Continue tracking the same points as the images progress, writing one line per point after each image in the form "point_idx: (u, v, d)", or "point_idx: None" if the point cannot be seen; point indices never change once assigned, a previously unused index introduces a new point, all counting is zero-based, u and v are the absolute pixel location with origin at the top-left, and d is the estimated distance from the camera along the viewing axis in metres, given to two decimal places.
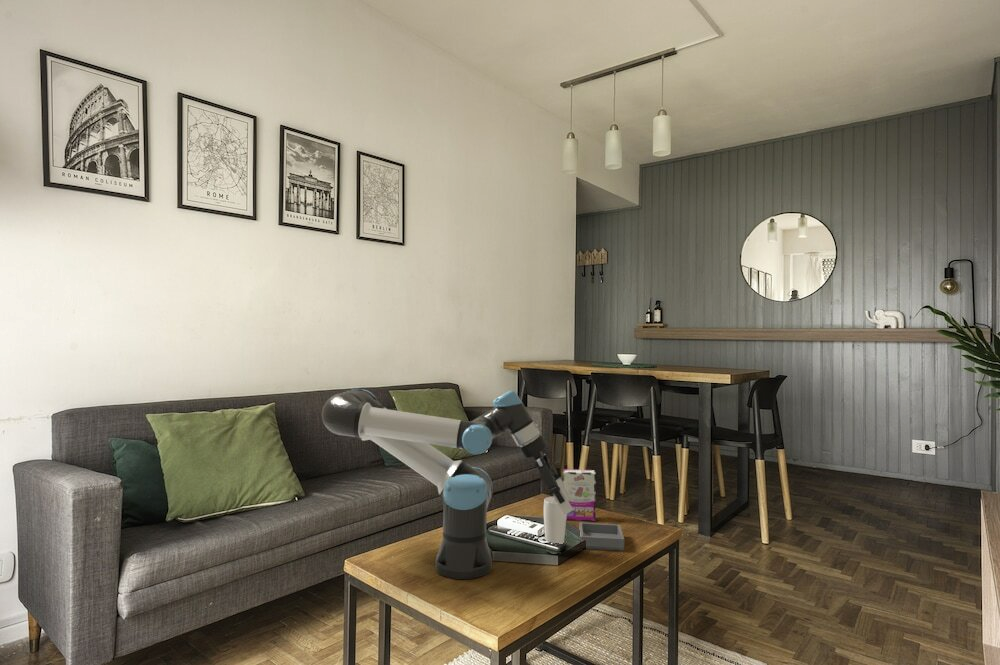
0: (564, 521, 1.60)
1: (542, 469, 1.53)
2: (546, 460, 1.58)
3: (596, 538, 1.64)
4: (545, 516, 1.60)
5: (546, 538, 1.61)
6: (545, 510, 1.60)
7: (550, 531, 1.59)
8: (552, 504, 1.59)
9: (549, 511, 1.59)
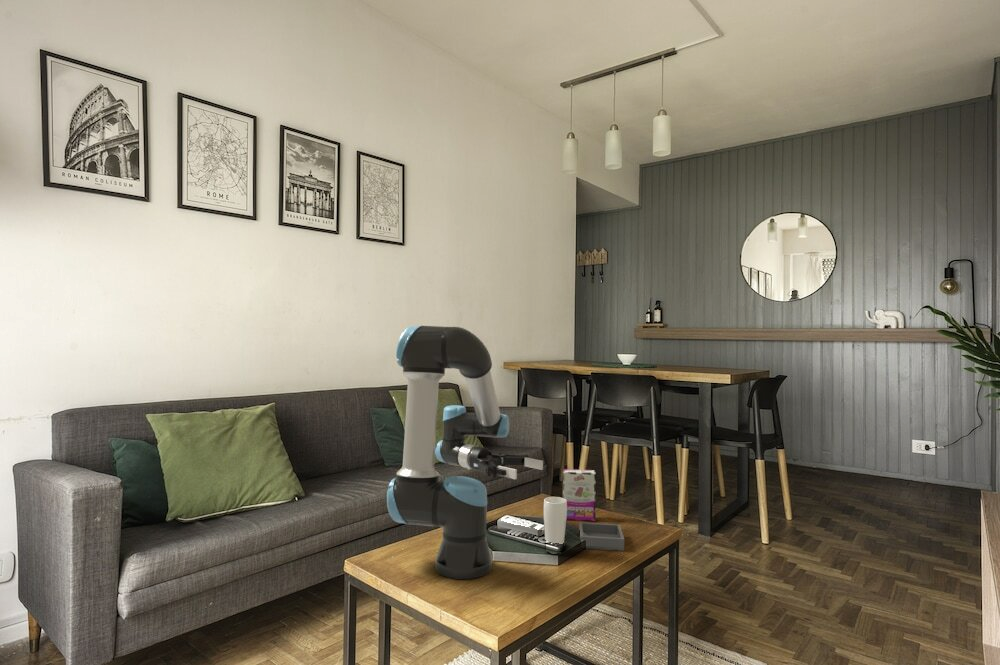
0: (564, 521, 1.60)
1: None
2: None
3: (596, 538, 1.64)
4: (545, 516, 1.60)
5: (546, 538, 1.61)
6: (545, 510, 1.60)
7: (550, 531, 1.59)
8: (552, 504, 1.59)
9: (549, 511, 1.59)
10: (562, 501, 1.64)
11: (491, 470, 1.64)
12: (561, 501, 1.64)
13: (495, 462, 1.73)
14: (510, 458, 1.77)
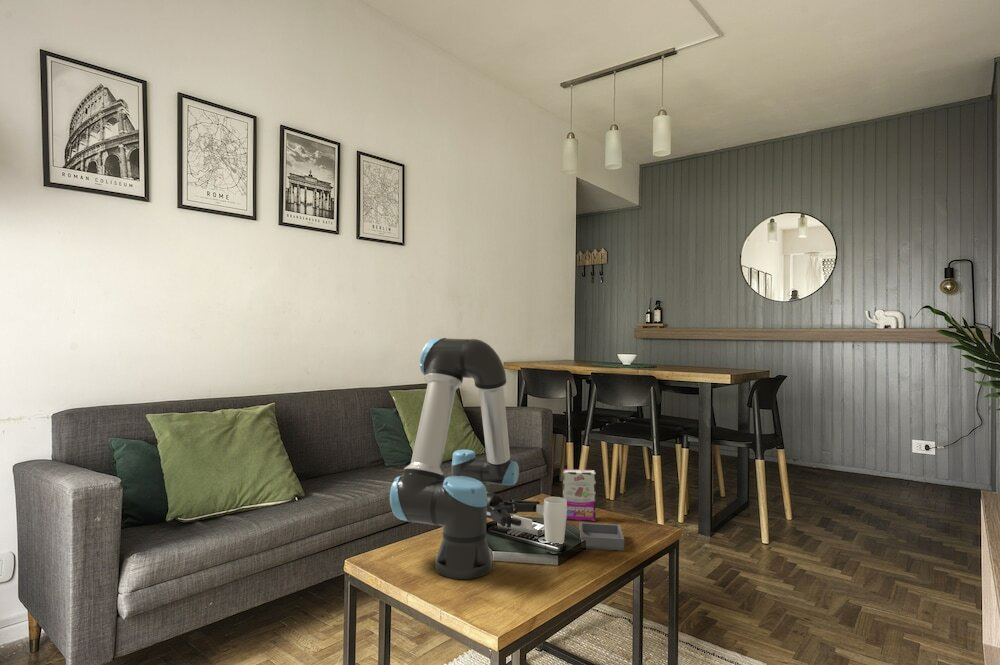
0: (564, 521, 1.60)
1: None
2: None
3: (596, 538, 1.64)
4: (545, 516, 1.60)
5: (546, 538, 1.61)
6: (545, 510, 1.60)
7: (550, 531, 1.59)
8: (552, 504, 1.59)
9: (549, 511, 1.59)
10: (562, 501, 1.64)
11: (506, 520, 1.62)
12: (561, 501, 1.64)
13: (507, 510, 1.71)
14: (522, 505, 1.75)
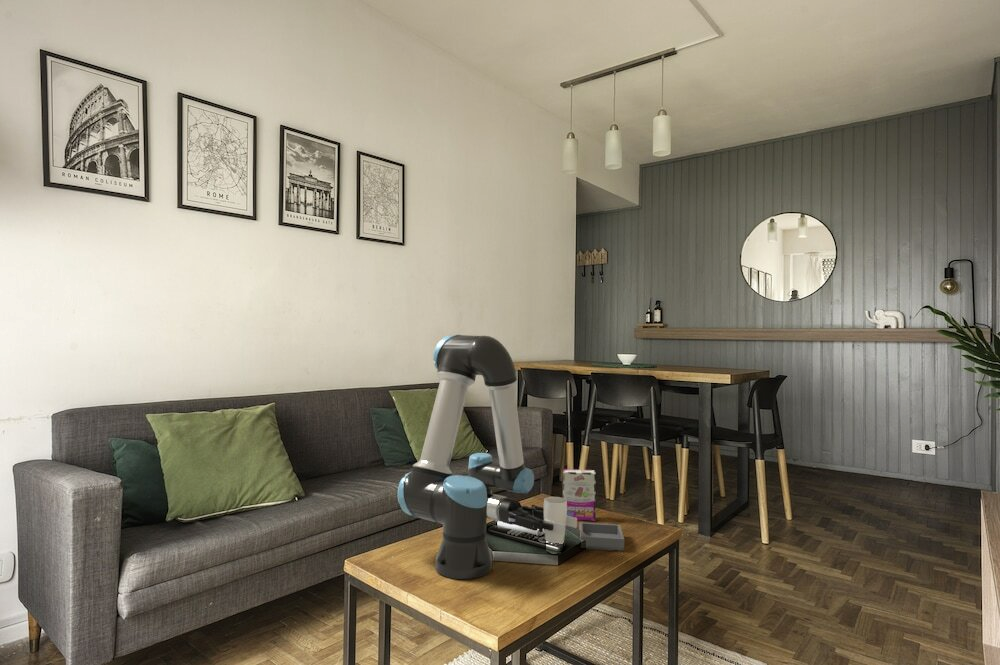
0: (564, 521, 1.60)
1: None
2: None
3: (596, 538, 1.64)
4: (545, 516, 1.60)
5: (546, 538, 1.61)
6: (545, 510, 1.60)
7: (550, 531, 1.59)
8: (552, 504, 1.59)
9: (549, 511, 1.59)
10: (562, 501, 1.64)
11: (538, 524, 1.58)
12: (561, 501, 1.64)
13: None
14: (540, 512, 1.68)
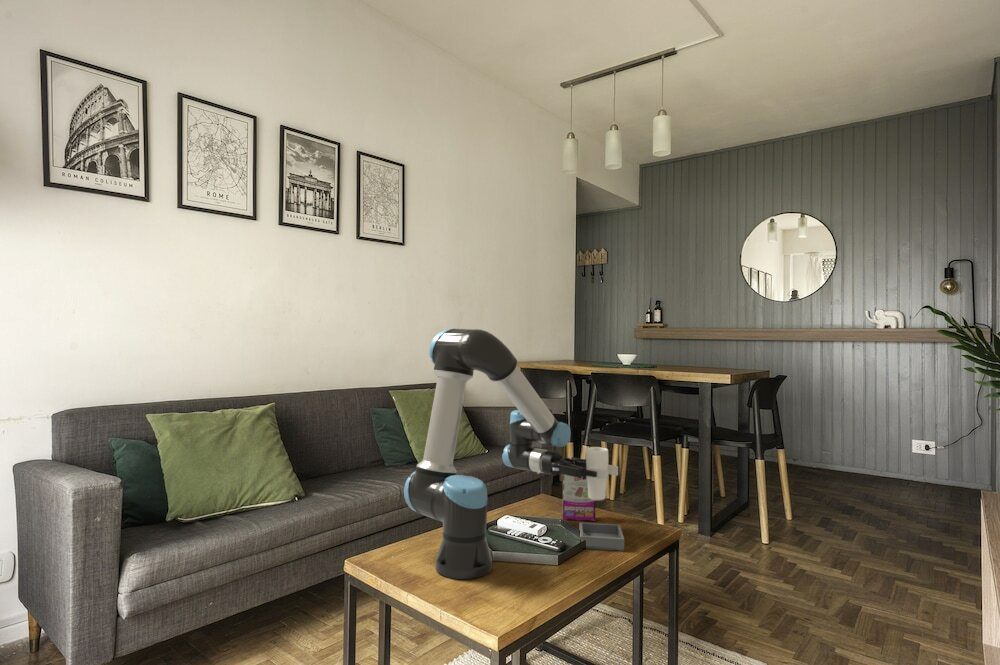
0: (606, 468, 1.68)
1: None
2: None
3: (596, 538, 1.64)
4: (588, 464, 1.69)
5: (589, 485, 1.69)
6: (588, 458, 1.68)
7: (593, 478, 1.68)
8: (595, 452, 1.67)
9: (592, 459, 1.67)
10: (603, 451, 1.72)
11: (582, 472, 1.66)
12: (602, 451, 1.72)
13: None
14: (582, 463, 1.76)
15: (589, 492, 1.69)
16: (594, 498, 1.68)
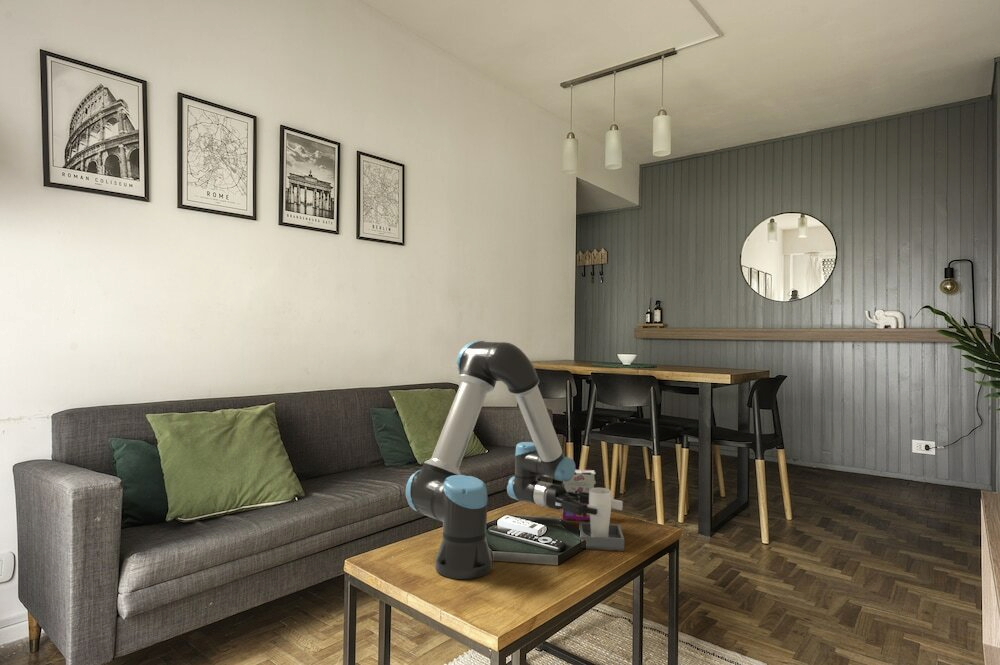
0: (609, 510, 1.68)
1: None
2: None
3: (596, 538, 1.64)
4: None
5: (592, 527, 1.69)
6: (591, 500, 1.68)
7: (595, 520, 1.67)
8: (598, 494, 1.67)
9: (595, 501, 1.67)
10: (606, 491, 1.72)
11: (582, 509, 1.66)
12: (605, 491, 1.72)
13: None
14: (586, 497, 1.77)
15: (592, 534, 1.69)
16: None
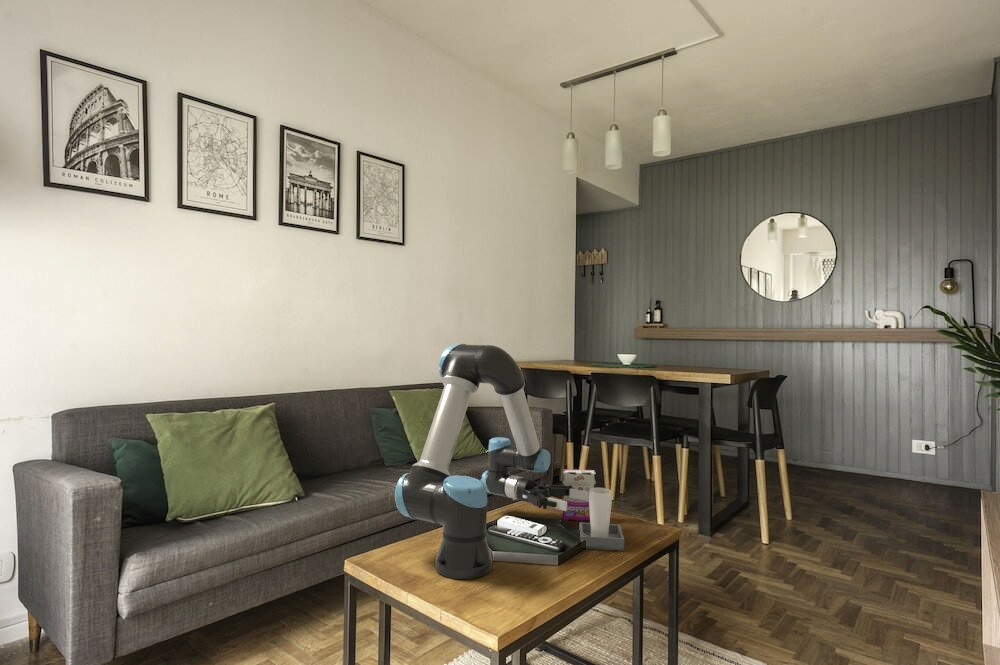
0: (609, 510, 1.68)
1: None
2: None
3: (596, 538, 1.64)
4: (591, 506, 1.68)
5: (592, 527, 1.69)
6: (591, 500, 1.68)
7: (596, 520, 1.67)
8: (598, 494, 1.67)
9: (595, 501, 1.67)
10: (606, 492, 1.72)
11: (542, 502, 1.72)
12: (605, 492, 1.72)
13: (542, 493, 1.81)
14: (555, 489, 1.85)
15: (592, 534, 1.69)
16: None
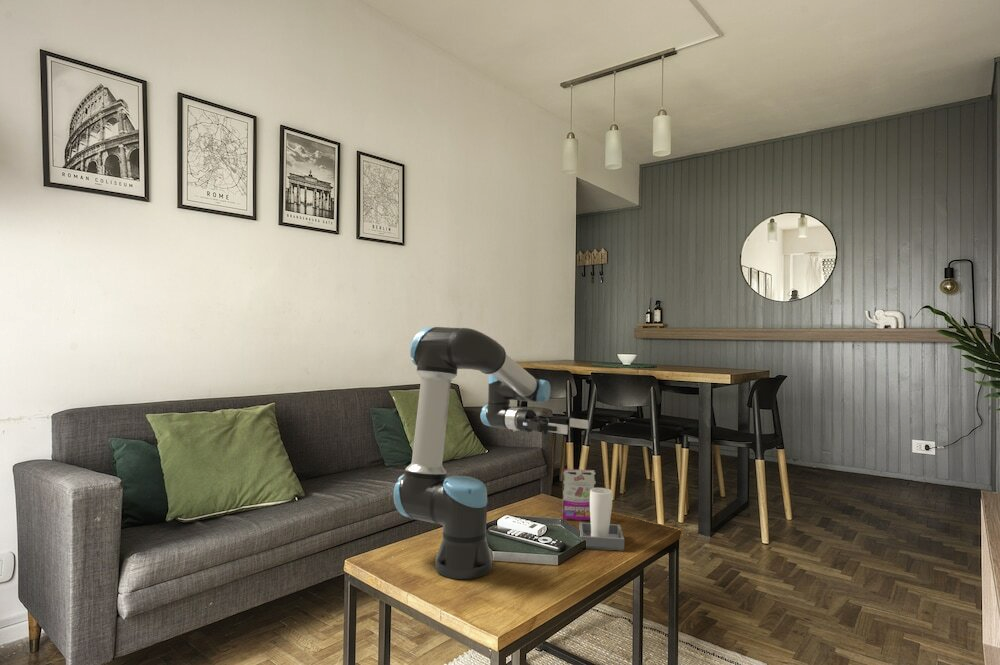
0: (610, 511, 1.68)
1: None
2: None
3: (596, 538, 1.64)
4: (591, 506, 1.68)
5: (592, 527, 1.69)
6: (591, 500, 1.68)
7: (596, 520, 1.67)
8: (599, 494, 1.67)
9: (596, 501, 1.67)
10: (607, 492, 1.72)
11: (542, 426, 1.72)
12: (606, 492, 1.72)
13: (542, 422, 1.82)
14: (556, 419, 1.85)
15: (592, 533, 1.69)
16: None
